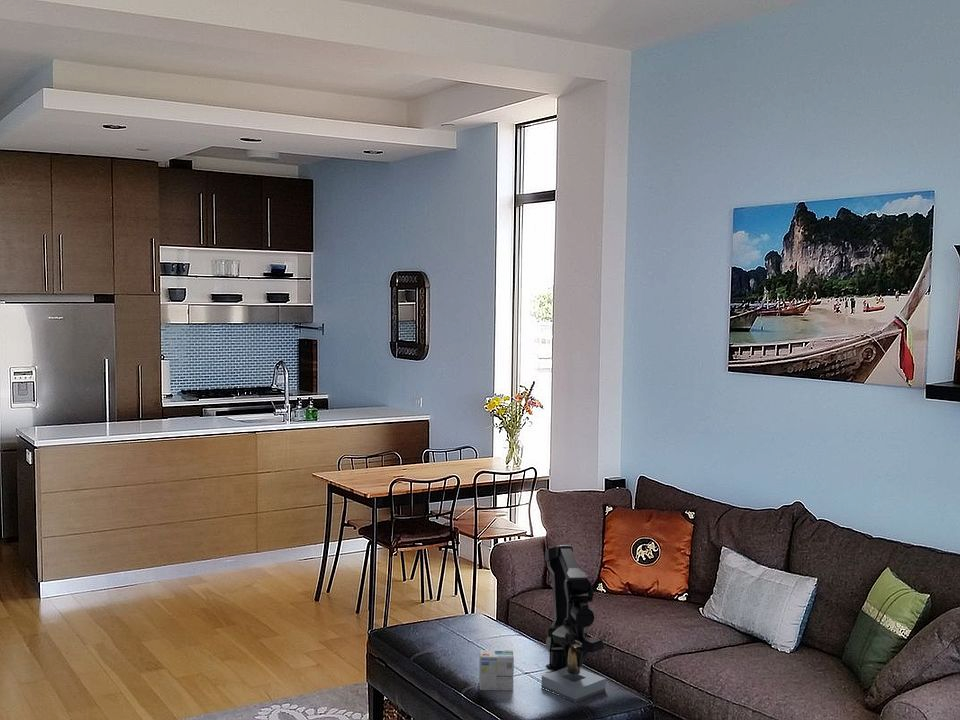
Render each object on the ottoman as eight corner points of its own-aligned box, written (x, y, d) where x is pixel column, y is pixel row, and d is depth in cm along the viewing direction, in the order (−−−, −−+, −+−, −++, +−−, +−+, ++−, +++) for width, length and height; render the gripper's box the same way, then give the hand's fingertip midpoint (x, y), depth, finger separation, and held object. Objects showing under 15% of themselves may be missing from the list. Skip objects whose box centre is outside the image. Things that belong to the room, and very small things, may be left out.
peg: (564, 671, 320) (565, 646, 320) (573, 668, 323) (574, 643, 322) (574, 675, 317) (575, 650, 317) (582, 672, 320) (583, 647, 319)
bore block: (541, 688, 321) (541, 675, 320) (571, 677, 330) (571, 665, 330) (575, 702, 311) (575, 689, 310) (605, 690, 320) (605, 678, 320)
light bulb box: (512, 682, 325) (513, 649, 324) (513, 691, 318) (514, 657, 317) (478, 682, 324) (479, 648, 323) (479, 690, 318) (480, 656, 317)
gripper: (536, 613, 320) (534, 662, 321) (581, 629, 306) (579, 680, 308) (560, 606, 327) (558, 653, 329) (605, 621, 314) (603, 671, 315)
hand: (574, 665), depth 320 cm, fingers closed on peg, 4 cm apart
